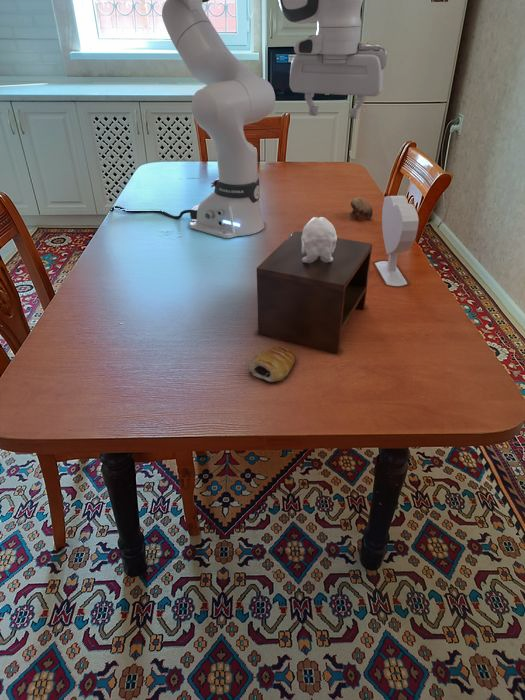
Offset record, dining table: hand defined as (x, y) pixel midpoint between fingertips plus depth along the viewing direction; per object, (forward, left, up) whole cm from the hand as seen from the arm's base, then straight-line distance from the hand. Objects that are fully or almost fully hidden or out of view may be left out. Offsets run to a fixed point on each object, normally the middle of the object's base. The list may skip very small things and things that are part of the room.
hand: (333, 116), depth 108 cm
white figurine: (+8, -30, -19) cm, 37 cm away
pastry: (+7, -49, -34) cm, 60 cm away
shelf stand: (+8, -30, -34) cm, 46 cm away
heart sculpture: (+18, -2, -34) cm, 39 cm away
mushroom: (+1, +31, -34) cm, 46 cm away
